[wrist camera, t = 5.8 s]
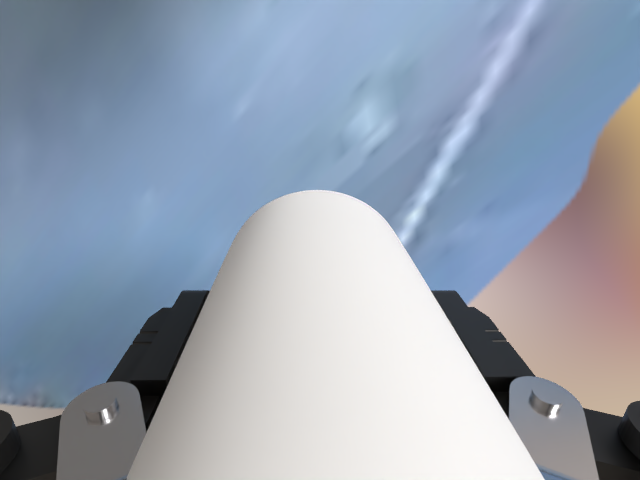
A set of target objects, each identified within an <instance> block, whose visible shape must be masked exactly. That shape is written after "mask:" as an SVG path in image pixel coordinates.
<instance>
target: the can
mask: <svg viewBox="0 0 640 480" xmlns="http://www.w3.org/2000/svg"><path fill="white" fill-rule="evenodd" d="M127 480H545V479H544V478H543V476H542V474H541V473H540V471H539V469H538V467H537V466H536V464H535V462H534V461H533V459H532V457H531V456H530V454H529V452H528V451H527V449H526V447H525V446H524V444H523V442H522V441H521V439H520V437H519V436H518V434H517V432H516V431H515V429H514V427H513V426H512V424H511V422H510V421H509V419H508V417H507V416H506V414H505V412H504V411H503V409H502V407H501V406H500V404H499V402H498V401H497V399H496V397H495V396H494V394H493V393H492V391H491V389H490V388H489V386H488V384H487V383H486V381H485V379H484V378H483V376H482V374H481V373H480V371H479V369H478V368H477V366H476V364H475V363H474V361H473V359H472V358H471V356H470V354H469V353H468V351H467V350H466V348H465V346H464V345H463V343H462V341H461V340H460V338H459V336H458V335H457V333H456V331H455V330H454V328H453V326H452V325H451V323H450V322H449V320H448V318H447V317H446V315H445V313H444V312H443V310H442V308H441V307H440V305H439V303H438V302H437V300H436V299H435V297H434V295H433V294H432V292H431V290H430V289H429V287H428V285H427V284H426V282H425V281H424V279H423V277H422V276H421V274H420V272H419V271H418V269H417V268H416V266H415V264H414V263H413V261H412V259H411V258H410V256H409V255H408V253H407V251H406V250H405V248H404V246H403V245H402V243H401V242H400V240H399V239H398V237H397V235H396V234H395V232H394V231H393V229H392V228H391V227H390V225H389V224H388V223H387V221H386V220H385V219H384V218H383V217H382V216H381V215H380V214H379V213H378V212H377V211H376V210H374V209H373V208H372V207H370V206H369V205H367V204H366V203H364V202H362V201H360V200H358V199H356V198H354V197H351V196H349V195H346V194H342V193H338V192H333V191H326V190H308V191H300V192H295V193H291V194H288V195H285V196H282V197H280V198H277V199H275V200H273V201H271V202H269V203H268V204H266V205H264V206H263V207H261V208H260V209H259V210H257V211H256V212H255V213H254V214H253V215H252V216H251V217H250V218H249V219H248V220H247V221H246V222H245V223H244V225H243V226H242V227H241V229H240V230H239V232H238V233H237V235H236V237H235V239H234V241H233V243H232V245H231V247H230V249H229V251H228V253H227V255H226V257H225V259H224V262H223V264H222V266H221V268H220V270H219V273H218V275H217V277H216V279H215V281H214V283H213V286H212V288H211V290H210V292H209V294H208V297H207V299H206V301H205V303H204V306H203V308H202V310H201V312H200V314H199V317H198V319H197V321H196V323H195V325H194V328H193V330H192V332H191V334H190V337H189V339H188V341H187V343H186V346H185V348H184V350H183V352H182V354H181V357H180V359H179V361H178V363H177V366H176V368H175V370H174V372H173V374H172V377H171V379H170V381H169V383H168V386H167V388H166V390H165V392H164V395H163V397H162V399H161V401H160V404H159V406H158V408H157V410H156V413H155V415H154V417H153V419H152V422H151V424H150V426H149V428H148V431H147V433H146V435H145V437H144V440H143V442H142V444H141V446H140V449H139V451H138V453H137V455H136V458H135V460H134V462H133V464H132V466H131V469H130V471H129V473H128V476H127Z"/></svg>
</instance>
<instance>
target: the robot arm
mask: <svg viewBox="0 0 640 480" xmlns="http://www.w3.org/2000/svg"><path fill="white" fill-rule="evenodd" d="M209 292H210V291H208V290H203V291H182V292H181V293H180V295H179V297H178V299H177V300H176V302H175V304H174V305H173V307H172V308H162V309H160V310H159V311H158V312H156V313H155V314H154V315H152V316H151V317H150V318H148V320H147V321H146V323H145V324H144V326H143V327H142V329H141V330H140V334H138V335H137V336H136V338H135V339H134V341H133V345H130V347H129V349H128V350H127V352H126V353H125V355H124V356H123V358H122V359H121V361H120V362H119V364H118V365H117V367H116V368H115V370H114V371H113V373H112V374H111V376H110V377H109V379H108V380H107V382H106V383H104V384H100V385H97V386H95V387H92V388H90V389H88V390H86V391H85V392H83V393H81V394H80V395H79V396H77V397H76V398H75V399H74V400H72V401H71V402H70V403H69V405H68V406H67V407H66V408H65V410H64V411H63V413H62V415H59V416H56V417H53V418H49V419H45V420H41V421H37V422H33V423H29V424H25V425H21V426H18V427H16V426H15V424H14V421H13V419H12V417H11V415H10V414H9V413H7V412H5V411H2V410H0V480H127V476H128V473H129V471H130V469H131V466H132V464H133V462H134V460H135V458H136V455H137V453H138V451H139V449H140V446H141V444H142V442H143V440H144V437H145V435H146V433H147V431H148V428H149V426H150V424H151V422H152V419H153V417H154V415H155V413H156V410H157V408H158V406H159V404H160V401H161V399H162V397H163V395H164V392H165V390H166V388H167V386H168V383H169V381H170V379H171V377H172V374H173V372H174V370H175V368H176V366H177V363H178V361H179V359H180V357H181V354H182V352H183V350H184V348H185V346H186V343H187V341H188V339H189V337H190V334H191V332H192V330H193V328H194V325H195V323H196V321H197V319H198V317H199V314H200V312H201V310H202V308H203V306H204V303H205V301H206V299H207V297H208V294H209ZM431 292H432V294H433V295H434V297H435V299H436V300H437V302H438V303H439V305H440V307H441V308H442V310H443V312H444V313H445V315H446V317H447V318H448V320H449V322H450V323H451V325H452V326H453V328H454V330H455V331H456V333H457V335H458V336H459V338H460V340H461V341H462V343H463V345H464V346H465V348H466V350H467V351H468V353H469V354H470V356H471V358H472V359H473V361H474V363H475V364H476V366H477V368H478V369H479V371H480V373H481V374H482V376H483V378H484V379H485V381H486V383H487V384H488V386H489V388H490V389H491V391H492V393H493V394H494V396H495V397H496V399H497V401H498V402H499V404H500V406H501V407H502V409H503V411H504V412H505V414H506V416H507V417H508V419H509V421H510V422H511V424H512V426H513V427H514V429H515V431H516V432H517V434H518V436H519V437H520V439H521V441H522V442H523V444H524V446H525V447H526V449H527V451H528V452H529V454H530V456H531V457H532V459H533V461H534V462H535V464H536V466H537V467H538V469H539V471H540V473H541V474H542V476H543V478H544V479H545V480H640V401H636V402H633V403H631V404H630V405H629V406H628V407H627V410H626V412H625V414H624V416H623V417H619V416H615V415H611V414H607V413H602V412H598V411H593V410H589V409H585V408H583V407H582V406H581V404H580V402H579V401H578V400H577V399H576V398H575V397H574V396H573V395H572V394H571V393H570V392H569V391H567V390H566V389H564V388H563V387H561V386H559V385H558V384H556V383H553V382H551V381H549V380H546V379H543V378H539V377H536V376H535V375H534V374H533V373H532V371H531V370H530V369H529V368H528V366H527V365H526V364H525V362H524V361H523V360H522V359H521V357H520V356H519V355H518V354H517V352H516V351H515V350H514V348H513V347H512V346H511V345H510V344H509V342H507V341H506V338H505V337H504V336H503V335H502V334H501V332H499V331H498V329H497V327H496V326H495V324H494V323H493V322H492V321H491V319H490V318H489V317H488V316H486V315H485V314H483V313H482V312H480V311H479V310H477V309H476V308H474V307H468V306H467V305H466V304H465V302H464V301H463V300H462V298H461V297H460V296H459V294H458V293H457V292H456V291H431Z"/></svg>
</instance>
